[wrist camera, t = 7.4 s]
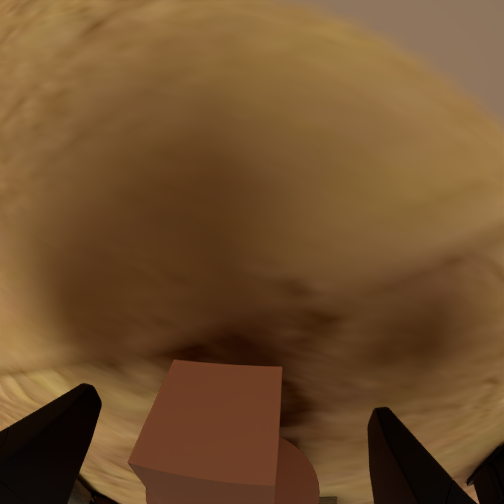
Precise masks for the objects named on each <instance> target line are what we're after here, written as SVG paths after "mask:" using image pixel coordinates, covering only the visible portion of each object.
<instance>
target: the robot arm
mask: <svg viewBox="0 0 504 504" xmlns="http://www.w3.org/2000/svg"><path fill="white" fill-rule="evenodd" d="M101 406H102V402H101V399H100V397H99V395H98V393H97V391H96V389H95V387H94V386H93V385H90V384H86V383H82V384H80V385H78V386H77V387H75V388H74V389H72V390H70V391H69V392H67V393H65V394H64V395H62V396H60V397H59V398H57V399H55V400H53V401H52V402H50V403H48V404H47V405H45V406H43V407H42V408H40V409H38V410H37V411H35V412H33V413H31V414H30V415H28V416H26V417H25V418H23V419H21V420H19V421H18V422H16V423H14V424H13V425H11V426H10V427H7V428H6V429H4V430H2V431H0V504H68V501H69V498H70V496H71V493H72V490H73V487H74V485H75V482H76V479H77V477H78V474H79V471H80V469H81V466H82V464H83V461H84V458H85V456H86V453H87V451H88V448H89V446H90V443H91V440H92V437H93V434H94V430H95V427H96V424H97V420H98V417H99V413H100V410H101ZM368 448H369V471H370V478H371V485H372V491H373V498H374V504H477V503H476V502H475V501H474V500H473V499H472V498H471V497H469V496H468V494H467V493H466V492H465V491H464V490H463V489H462V488H461V487H460V486H459V485H458V484H457V483H456V482H455V481H454V480H452V478H451V476H450V475H449V474H448V473H447V472H446V471H445V470H444V469H443V468H442V466H441V465H440V464H439V463H438V462H437V461H436V460H435V459H434V458H433V456H432V455H431V454H430V453H429V452H428V451H427V450H426V449H425V448H424V447H423V445H422V444H421V443H420V442H419V441H418V440H417V439H416V438H415V437H414V435H413V434H412V433H411V432H410V431H409V430H408V429H407V428H406V427H405V425H404V424H403V423H402V422H401V421H400V420H399V419H398V418H397V417H396V415H395V414H394V413H393V412H392V411H391V410H390V409H389V408H388V407H378V408H375V409H374V410H373V413H372V415H371V418H370V420H369V423H368ZM466 484H467V486H470V485H473V484H474V487H475V490H476V494H477V497H478V501H479V504H504V445H502V446H500V447H499V448H498V449H497V450H496V451H495V453H494V454H493V455H492V456H491V457H490V458H489V459H488V460H487V461H486V463H485V464H484V465H483V466H482V467H481V468H480V469H479V470H478V471H477V472H476V473H475V474H474V475H473V476H472V477H471V478H470V479H469V480H468V481H467V482H466Z"/></svg>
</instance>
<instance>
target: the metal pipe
mask: <svg viewBox="0 0 504 504" xmlns="http://www.w3.org/2000/svg"><path fill="white" fill-rule="evenodd" d="M68 504H117V503H116V502H114V501H112V500H109V499H106V498H102V497H101V496H99V495H98V494H96V493H94V492H92V493H91V492H89V491H88V490H87V489H86V488H85V487H84V486H83V485H82V484H81V483H80V482H79V480H78V479H76V482H75V485H74V487H73V490H72V493H71V496H70V498H69V501H68Z"/></svg>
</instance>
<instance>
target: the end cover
mask: <svg viewBox="0 0 504 504" xmlns="http://www.w3.org/2000/svg"><path fill="white" fill-rule="evenodd" d="M281 386H282V367H275V366H248V365H230V364H216V363H204V362H193V361H183V360H174V361H173V363H172V365H171V367H170V369H169V371H168V374H167V376H166V378H165V380H164V382H163V384H162V387H161V389H160V391H159V393H158V395H157V397H156V400H155V402H154V404H153V406H152V408H151V411H150V413H149V415H148V417H147V420H146V422H145V424H144V426H143V429H142V431H141V433H140V435H139V437H138V440H137V442H136V444H135V447H134V449H133V451H132V453H131V456H130V458H129V460H128V464H129V465H130V467H131V468H132V469H133V471H134V472H135V474H136V475H137V476H138V478H139V479H140V480H141V481H142V483H143V484H144V485H145V487H146V502H147V504H318V503H319V483H318V479H317V475H316V473H315V471H314V468H313V466H312V465H311V463H310V462H309V460H308V459H307V458H306V456H305V455H304V454H303V453H302V452H301V451H300V450H299V449H298V448H297V447H295V446H294V445H293V444H291V443H290V442H288V441H287V440H285V439H283V438H281V437H279V428H280V408H281Z"/></svg>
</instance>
